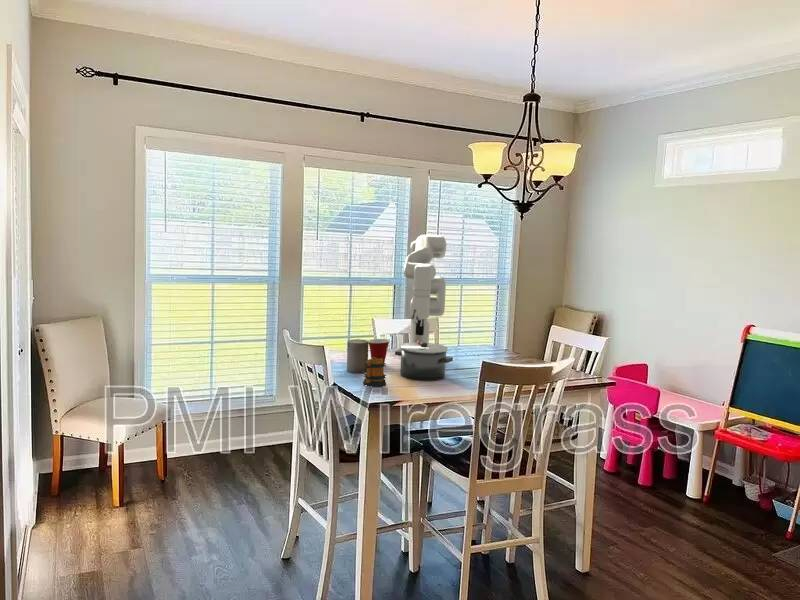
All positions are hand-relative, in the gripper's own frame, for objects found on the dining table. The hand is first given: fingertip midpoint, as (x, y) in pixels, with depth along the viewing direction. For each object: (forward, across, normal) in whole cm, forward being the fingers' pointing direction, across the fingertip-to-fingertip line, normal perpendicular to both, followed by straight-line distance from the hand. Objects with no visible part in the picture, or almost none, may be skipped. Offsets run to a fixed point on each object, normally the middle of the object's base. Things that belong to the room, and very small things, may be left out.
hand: (419, 334), depth 275 cm
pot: (+19, -4, 0) cm, 20 cm away
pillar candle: (+20, +7, -28) cm, 34 cm away
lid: (+7, -5, 0) cm, 9 cm away
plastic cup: (+20, -11, -28) cm, 36 cm away
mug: (+19, +25, -8) cm, 32 cm away
